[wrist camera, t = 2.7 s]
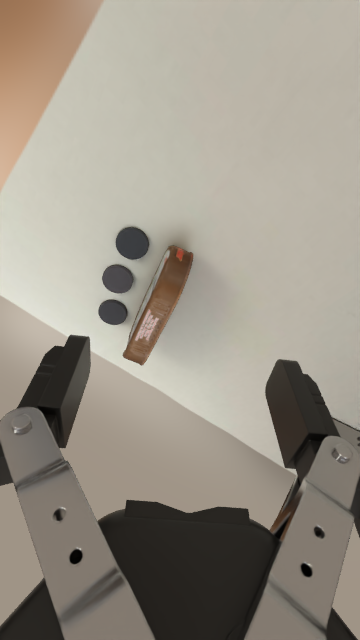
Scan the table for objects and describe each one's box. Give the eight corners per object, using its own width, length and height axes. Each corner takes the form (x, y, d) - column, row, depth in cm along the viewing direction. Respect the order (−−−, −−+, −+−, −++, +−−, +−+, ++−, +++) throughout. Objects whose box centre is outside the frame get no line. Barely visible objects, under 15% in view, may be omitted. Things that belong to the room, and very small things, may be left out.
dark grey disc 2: (100, 285, 39) (99, 288, 38) (106, 260, 37) (105, 263, 36) (129, 294, 39) (128, 297, 39) (136, 270, 37) (135, 272, 37)
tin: (147, 335, 43) (141, 381, 36) (125, 328, 43) (115, 373, 36) (195, 241, 35) (198, 277, 28) (169, 230, 34) (166, 264, 28)
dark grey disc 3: (97, 317, 42) (96, 320, 41) (102, 296, 39) (101, 298, 39) (123, 325, 42) (122, 328, 42) (130, 304, 40) (129, 306, 40)
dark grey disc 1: (113, 251, 36) (112, 253, 35) (120, 222, 34) (119, 224, 33) (143, 261, 37) (143, 263, 36) (152, 233, 35) (152, 235, 34)
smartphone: (319, 412, 52) (381, 443, 57) (318, 409, 53) (379, 441, 58) (287, 434, 56) (347, 462, 61) (286, 432, 57) (346, 459, 61)
